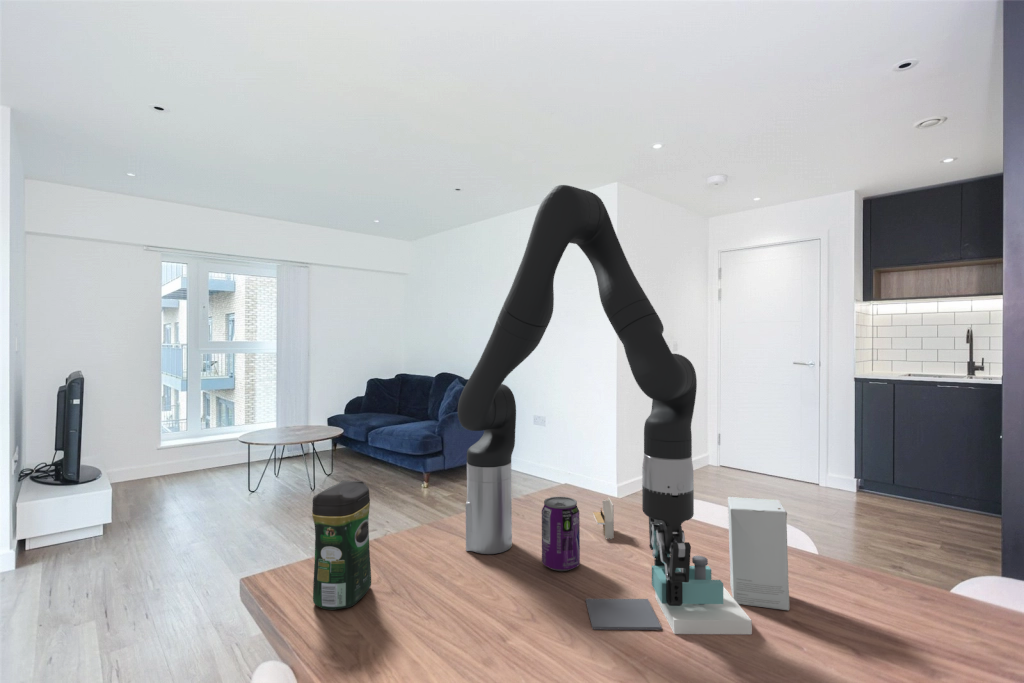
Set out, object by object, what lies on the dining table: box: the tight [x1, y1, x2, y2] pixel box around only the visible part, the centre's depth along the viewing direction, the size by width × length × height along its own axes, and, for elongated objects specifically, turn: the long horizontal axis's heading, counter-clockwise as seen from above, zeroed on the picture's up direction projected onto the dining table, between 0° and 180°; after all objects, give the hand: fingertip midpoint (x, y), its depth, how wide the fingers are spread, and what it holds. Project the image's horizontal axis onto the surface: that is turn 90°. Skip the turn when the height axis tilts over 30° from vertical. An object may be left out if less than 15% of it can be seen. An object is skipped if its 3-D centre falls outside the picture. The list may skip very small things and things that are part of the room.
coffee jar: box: [311, 479, 372, 611], centre depth 82 cm, size 10×8×19 cm
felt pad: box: [585, 598, 663, 631], centre depth 76 cm, size 10×8×1 cm
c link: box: [651, 565, 724, 604], centre depth 76 cm, size 9×6×3 cm, turn 89°
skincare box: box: [727, 496, 790, 611], centre depth 81 cm, size 8×7×16 cm
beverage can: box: [541, 496, 581, 572], centre depth 93 cm, size 7×7×12 cm
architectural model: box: [592, 497, 615, 540], centre depth 109 cm, size 3×7×7 cm, turn 179°
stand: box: [654, 555, 753, 635], centre depth 76 cm, size 11×10×9 cm
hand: (667, 593), depth 76 cm, fingers closed on c link, 5 cm apart
